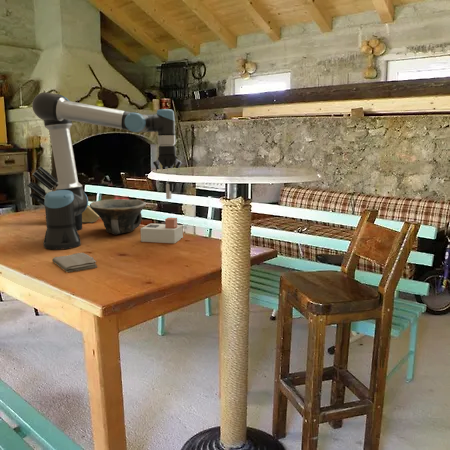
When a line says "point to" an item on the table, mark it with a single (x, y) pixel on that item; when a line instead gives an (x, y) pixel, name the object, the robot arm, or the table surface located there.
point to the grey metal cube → (152, 225)
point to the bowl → (119, 214)
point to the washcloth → (75, 262)
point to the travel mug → (78, 222)
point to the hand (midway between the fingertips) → (168, 198)
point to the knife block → (50, 184)
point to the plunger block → (161, 234)
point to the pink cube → (171, 223)
